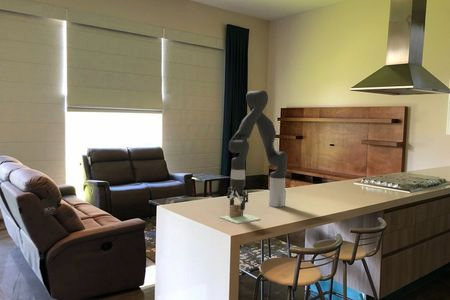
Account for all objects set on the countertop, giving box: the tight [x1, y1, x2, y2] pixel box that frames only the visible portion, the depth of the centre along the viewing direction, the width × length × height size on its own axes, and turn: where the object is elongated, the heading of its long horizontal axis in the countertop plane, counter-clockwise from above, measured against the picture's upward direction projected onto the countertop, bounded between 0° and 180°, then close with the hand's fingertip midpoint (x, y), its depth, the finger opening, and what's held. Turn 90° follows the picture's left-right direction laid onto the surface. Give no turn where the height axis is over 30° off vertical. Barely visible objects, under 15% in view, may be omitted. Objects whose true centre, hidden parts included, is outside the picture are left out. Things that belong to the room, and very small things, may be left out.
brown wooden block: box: [229, 203, 244, 218], centre depth 200 cm, size 8×2×6 cm, turn 128°
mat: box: [219, 212, 262, 225], centre depth 197 cm, size 16×14×1 cm
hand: (237, 208), depth 200 cm, fingers open, 8 cm apart
